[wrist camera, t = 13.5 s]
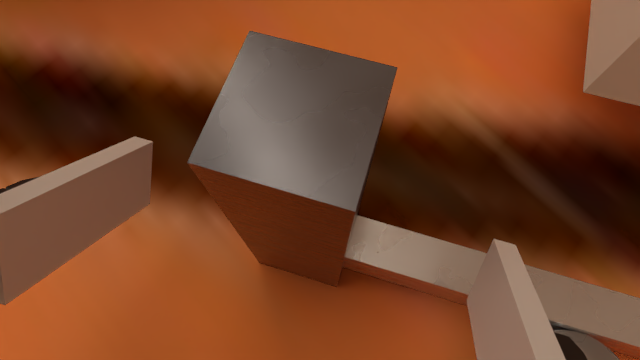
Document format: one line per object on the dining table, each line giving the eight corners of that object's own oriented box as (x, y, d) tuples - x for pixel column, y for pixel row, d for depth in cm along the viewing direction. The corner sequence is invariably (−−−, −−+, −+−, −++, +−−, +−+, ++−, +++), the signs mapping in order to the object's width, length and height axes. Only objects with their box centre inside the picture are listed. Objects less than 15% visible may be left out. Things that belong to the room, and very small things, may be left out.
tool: (259, 262, 21) (187, 162, 10) (285, 190, 22) (249, 30, 11) (636, 381, 19) (1104, 431, 7) (638, 294, 20) (1033, 226, 9)
